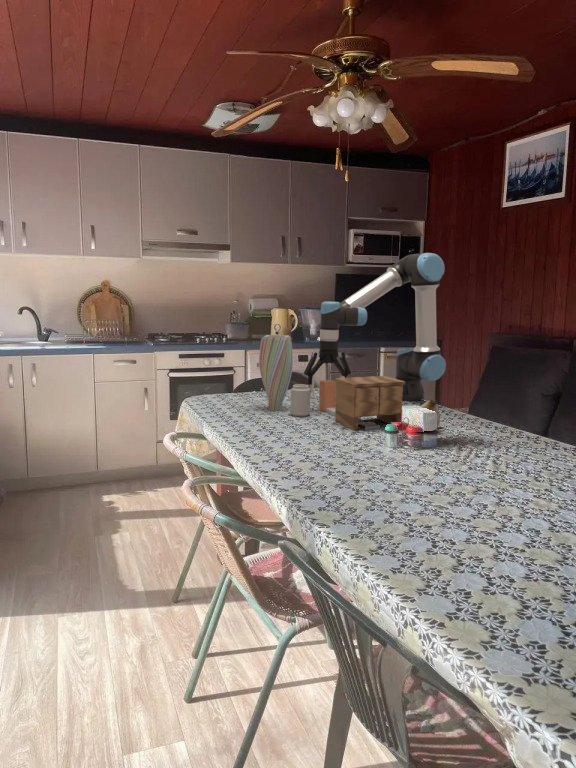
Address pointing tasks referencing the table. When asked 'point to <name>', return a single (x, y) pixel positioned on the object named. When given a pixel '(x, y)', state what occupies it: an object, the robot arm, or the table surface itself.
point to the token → (368, 426)
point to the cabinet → (368, 399)
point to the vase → (276, 367)
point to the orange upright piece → (329, 397)
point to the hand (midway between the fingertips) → (326, 392)
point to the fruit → (432, 408)
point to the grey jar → (300, 400)
